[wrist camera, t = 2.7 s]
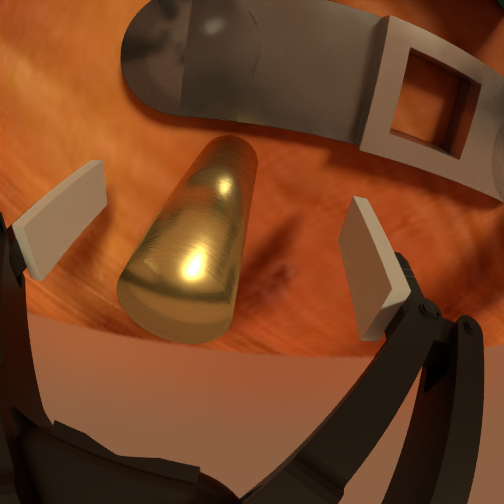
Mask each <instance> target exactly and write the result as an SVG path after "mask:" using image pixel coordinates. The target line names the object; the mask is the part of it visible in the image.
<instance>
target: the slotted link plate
mask: <svg viewBox="0 0 504 504" xmlns="http://www.w3.org/2000/svg"><path fill="white" fill-rule="evenodd" d="M409 54H411V55H414V56H416V57H418V58H420V59H423V60H425V61H427V62H429V63H431V64H433V65H435V66H437V67H439V68H441V69H443V70H445V71H447V72H449V73H451V74H453V75H455V76H457V77H459V78H460V79H461V82H460V86H459V90H458V94H457V98H456V102H455V106H454V110H453V113H452V117H451V120H450V123H449V127H448V130H447V133H446V136H445V140H444V143H443V146H442V147H440V146H437V145H435V144H432V143H430V142H427V141H425V140H422V139H419V138H417V137H414V136H411V135H408V134H406V133H403V132H400V131H397V130H394V129H391V125H392V121H393V118H394V114H395V110H396V106H397V103H398V99H399V95H400V91H401V87H402V82H403V78H404V74H405V69H406V65H407V60H408V55H409ZM121 66H122V71H123V75H124V77H125V80H126V82H127V84H128V86H129V87H130V89H131V90H132V92H133V93H134V94H135V95H136V96H137V97H138V98H139V99H140V100H141V101H142V102H143V103H145V104H146V105H147V106H149V107H151V108H153V109H155V110H157V111H159V112H162V113H165V114H169V115H176V116H187V117H199V118H210V119H219V120H228V121H236V122H244V123H251V124H258V125H264V126H271V127H277V128H282V129H288V130H293V131H298V132H303V133H308V134H313V135H318V136H322V137H327V138H331V139H335V140H340V141H344V142H348V143H352V144H354V145H355V146H356V147H357V148H358V150H360V151H363V152H367V153H371V154H374V155H378V156H381V157H385V158H388V159H392V160H395V161H398V162H401V163H404V164H408V165H411V166H414V167H417V168H420V169H423V170H426V171H428V172H431V173H434V174H437V175H440V176H442V177H445V178H448V179H450V180H453V181H455V182H458V183H461V184H463V185H466V186H468V187H470V188H473V189H475V190H478V191H480V192H482V193H485V194H487V195H489V196H491V197H493V198H496V199H498V200H500V201H502V202H504V77H503V76H501V75H500V74H498V73H497V72H496V71H494V70H493V69H491V68H490V67H488V66H487V65H486V64H484V63H483V62H481V61H479V60H478V59H476V58H475V57H473V56H472V55H470V54H468V53H467V52H465V51H463V50H462V49H460V48H458V47H457V46H455V45H453V44H451V43H449V42H448V41H446V40H444V39H442V38H440V37H438V36H436V35H434V34H432V33H430V32H428V31H426V30H424V29H422V28H420V27H418V26H415V25H413V24H411V23H409V22H406V21H404V20H401V19H399V18H397V17H394V16H392V15H388V16H385V17H380V16H377V15H374V14H371V13H368V12H365V11H362V10H359V9H356V8H353V7H349V6H346V5H342V4H339V3H335V2H331V1H327V0H151V1H150V2H149V3H148V4H146V5H145V6H144V7H143V8H142V9H141V10H140V11H139V12H138V13H137V14H136V16H135V17H134V18H133V20H132V21H131V23H130V25H129V26H128V28H127V30H126V33H125V35H124V38H123V42H122V47H121Z"/></svg>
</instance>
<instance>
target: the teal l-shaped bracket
mask: <svg viewBox="0 0 504 504" xmlns="http://www.w3.org/2000/svg"><path fill="white" fill-rule="evenodd" d="M498 2H499V3H500V4H501V6H502V7H503V9H504V0H498Z"/></svg>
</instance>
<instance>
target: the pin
mask: <svg viewBox="0 0 504 504" xmlns="http://www.w3.org/2000/svg"><path fill="white" fill-rule="evenodd" d="M257 166H258V159H257V155H256V152H255V150H254V149H253V147H252V146H251V145H250V144H249V143H248V142H247V141H245V140H244V139H242V138H240V137H237V136H232V135H224V136H220V137H217V138H215V139H213V140H212V141H210V142H209V143H208V144H207V145H206V147H205V148H204V149H203V151H202V152H201V153H200V155H199V156H198V157H197V159H196V160H195V161H194V163H193V164H192V165H191V167H190V168H189V170H188V171H187V172H186V174H185V175H184V177H183V178H182V179H181V181H180V182H179V184H178V185H177V187H176V188H175V189H174V191H173V192H172V194H171V195H170V197H169V198H168V200H167V201H166V203H165V204H164V206H163V207H162V209H161V210H160V212H159V213H158V215H157V216H156V218H155V219H154V221H153V223H152V224H151V226H150V227H149V229H148V230H147V232H146V234H145V235H144V237H143V238H142V240H141V242H140V243H139V245H138V247H137V248H136V250H135V252H134V253H133V255H132V257H131V258H130V260H129V262H128V263H127V265H126V267H125V268H124V270H123V272H122V274H121V275H120V277H119V280H118V283H117V295H118V299H119V302H120V304H121V306H122V308H123V309H124V311H125V312H126V313H127V315H128V316H129V317H130V318H131V319H132V320H133V321H134V322H135V323H136V324H138V325H139V326H140V327H142V328H143V329H145V330H146V331H148V332H150V333H152V334H154V335H156V336H158V337H160V338H163V339H166V340H169V341H173V342H178V343H186V344H198V343H205V342H209V341H212V340H215V339H217V338H219V337H220V336H222V335H223V334H224V333H225V332H226V331H227V330H228V329H229V327H230V325H231V323H232V319H233V313H234V307H235V301H236V294H237V288H238V282H239V276H240V269H241V263H242V257H243V251H244V245H245V239H246V233H247V226H248V220H249V214H250V208H251V202H252V196H253V190H254V184H255V178H256V172H257Z"/></svg>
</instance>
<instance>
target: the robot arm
mask: <svg viewBox="0 0 504 504" xmlns="http://www.w3.org/2000/svg"><path fill="white" fill-rule="evenodd" d="M106 206H107V197H106V188H105V178H104V166H103V160H90V161H89V162H88V163H86V164H85V165H83V166H82V167H81V168H79V169H78V170H77V171H75V172H74V173H73V174H71V175H70V176H69V177H67V178H66V179H65V180H63V181H62V182H61V183H60V184H58V185H57V186H56V187H55V188H53V189H52V190H51V191H50V192H48V193H47V194H46V195H45V196H44V197H42V198H41V199H40V200H39V201H38V202H36V203H35V204H34V205H32V206H31V207H30V208H29V209H28V210H27V211H26V212H25V213H23V215H21V216H20V217H19V218H18V219H17V220H16V221H15V222H14V223H13V224H12V225H11V226H9V227H8V228H7V229H6V226H5V222H4V219H3V216H2V213H1V212H0V504H338V503H339V501H340V500H341V498H342V497H343V494H344V487H345V485H346V484H347V483H348V481H349V480H350V479H351V478H352V476H353V475H354V474H355V473H356V471H357V470H358V468H359V467H360V466H361V465H362V463H363V462H364V461H365V459H366V458H367V457H368V455H369V454H370V453H371V451H372V450H373V448H374V447H375V445H376V444H377V442H378V441H379V440H380V438H381V437H382V435H383V434H384V432H385V430H386V429H387V427H388V426H389V424H390V422H391V421H392V419H393V418H394V416H395V415H396V413H397V411H398V409H399V408H400V406H401V404H402V403H403V401H404V399H405V397H406V396H407V394H408V392H409V390H410V388H411V386H412V385H413V383H414V381H415V379H416V377H417V375H418V373H419V371H420V369H421V367H422V372H421V377H420V382H419V387H418V391H417V396H416V400H415V405H414V409H413V413H412V417H411V420H410V425H409V428H408V431H407V435H406V438H405V441H404V445H403V448H402V451H401V454H400V457H399V460H398V463H397V466H396V468H395V471H394V474H393V477H392V479H391V482H390V484H389V487H388V489H387V492H386V494H385V497H384V499H383V501H382V503H381V504H467V502H468V498H469V494H470V491H471V486H472V482H473V478H474V472H475V468H476V462H477V457H478V451H479V444H480V436H481V427H482V416H483V402H484V346H483V333H482V329H481V327H480V326H479V324H478V322H476V320H475V319H473V318H471V317H470V316H467V315H462V316H461V317H459V319H458V320H457V321H456V322H455V323H454V322H452V321H449V320H447V319H444V318H442V314H441V311H440V309H439V308H438V307H437V306H436V305H435V304H434V303H433V302H432V301H430V300H428V299H425V298H424V296H423V294H422V292H421V290H420V287H419V285H418V283H417V281H416V278H414V274H413V272H412V271H411V268H410V266H409V264H408V261H407V260H406V259H405V258H404V257H403V256H402V255H401V254H400V253H397V252H394V251H393V249H392V247H391V245H390V243H389V241H388V239H387V237H386V235H385V233H384V231H383V229H382V227H381V225H380V223H379V221H378V219H377V217H376V215H375V213H374V211H373V209H372V207H371V206H370V204H369V202H368V200H367V199H365V198H361V197H357V196H353V198H352V201H351V204H350V207H349V210H348V213H347V216H346V219H345V221H344V224H343V227H342V230H341V233H340V236H339V239H338V243H339V247H340V251H341V255H342V258H343V262H344V267H345V271H346V275H347V279H348V283H349V288H350V292H351V297H352V301H353V306H354V311H355V316H356V321H357V326H358V331H359V336H360V340H361V341H375V342H378V340H379V339H380V338H381V336H382V335H383V333H384V332H385V336H386V340H387V341H386V342H385V343H384V345H383V346H382V347H381V349H380V350H379V351H378V352H377V354H376V355H375V356H374V359H373V360H372V362H371V363H370V364H369V365H368V367H367V368H366V370H365V371H364V372H363V374H362V375H361V376H360V377H359V379H358V380H357V381H356V383H355V384H354V385H353V386H352V388H351V389H350V390H349V391H348V393H347V394H346V395H345V396H344V397H343V399H342V400H341V401H340V402H339V403H338V405H337V406H336V407H335V408H334V409H333V410H332V412H331V413H330V414H329V415H328V416H327V417H326V418H325V419H324V421H323V422H322V423H321V424H320V425H319V426H318V427H317V428H316V429H315V430H314V431H313V433H312V434H311V435H310V436H309V437H308V438H307V439H306V440H305V441H304V442H303V443H302V444H301V445H300V446H299V447H298V448H297V449H296V450H295V451H294V452H293V453H292V454H291V455H290V456H289V457H288V458H287V459H286V460H285V461H284V462H283V463H282V464H280V465H279V466H278V467H277V468H276V469H275V470H274V471H273V472H272V473H270V474H269V475H268V476H267V477H266V478H264V479H263V480H262V481H261V482H260V483H258V484H257V485H256V486H255V487H254V488H253V489H251V490H250V491H249V492H248V493H246V494H245V495H244V496H243V497H241V498H240V499H239V498H238V497H237V496H236V495H235V494H234V493H233V492H232V491H231V490H230V489H229V488H228V487H226V486H225V485H224V484H222V483H221V482H219V481H217V480H216V479H214V478H212V477H210V476H208V475H206V474H204V473H201V472H200V467H197V466H192V465H187V464H183V463H178V462H174V461H169V460H165V459H161V458H143V457H126V456H119V455H116V454H114V453H113V452H111V451H110V450H108V449H107V448H105V447H103V446H102V445H100V444H99V443H98V442H96V441H95V440H93V439H92V438H90V437H89V436H88V435H86V434H85V433H83V432H80V431H78V430H76V429H73V428H71V427H69V426H66V425H65V424H62V423H60V422H58V421H56V420H55V421H54V424H53V425H52V423H51V421H50V420H49V419H48V417H47V415H46V413H45V411H44V409H43V406H42V402H41V398H40V393H39V389H38V385H37V380H36V375H35V370H34V365H33V358H32V352H31V345H30V338H29V330H28V320H27V308H26V291H25V277H24V274H23V271H24V270H25V269H26V267H27V269H28V272H29V274H30V276H31V278H34V279H37V280H40V281H43V280H44V279H45V277H46V276H47V275H48V274H49V272H50V271H51V270H52V268H53V267H54V266H55V264H56V263H57V262H58V261H59V259H60V258H61V257H62V256H63V254H64V253H65V252H66V251H67V250H68V248H69V247H70V246H71V245H72V244H73V242H74V241H75V240H76V239H77V238H78V237H79V235H80V234H81V233H82V232H83V231H84V230H85V228H86V227H87V226H88V225H89V224H90V223H91V222H92V221H93V220H94V218H95V217H96V216H97V215H98V214H99V213H100V212H101V211H102V210H103V209H104V208H105V207H106Z"/></svg>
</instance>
